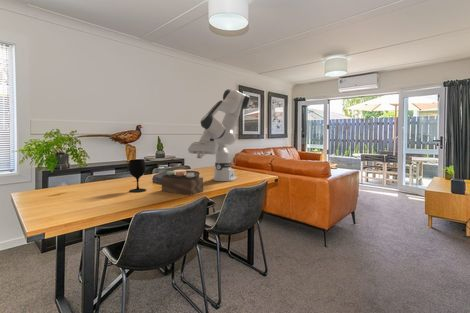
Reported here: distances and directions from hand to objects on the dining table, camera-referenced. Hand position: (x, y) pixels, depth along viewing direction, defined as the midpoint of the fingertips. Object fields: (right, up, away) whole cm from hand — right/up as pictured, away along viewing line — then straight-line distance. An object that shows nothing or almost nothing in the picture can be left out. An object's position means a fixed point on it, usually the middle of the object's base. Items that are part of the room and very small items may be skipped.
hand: (198, 157), depth 172 cm
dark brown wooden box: (-10, -22, -3) cm, 24 cm away
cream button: (-4, -12, -10) cm, 16 cm away
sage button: (-18, -11, -2) cm, 21 cm away
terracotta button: (-11, -11, -6) cm, 17 cm away
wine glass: (-39, -22, -3) cm, 45 cm away
